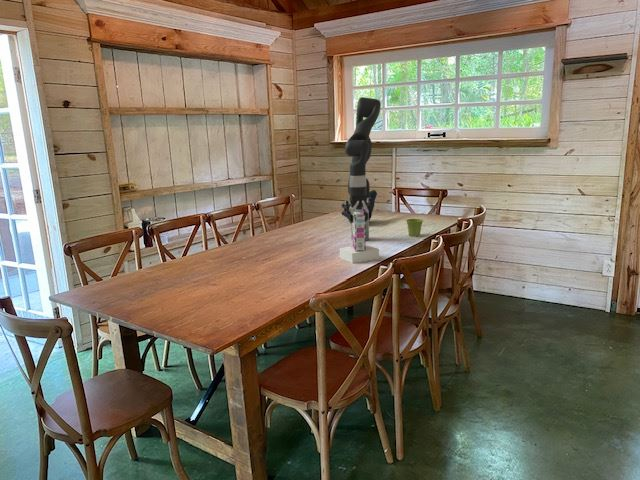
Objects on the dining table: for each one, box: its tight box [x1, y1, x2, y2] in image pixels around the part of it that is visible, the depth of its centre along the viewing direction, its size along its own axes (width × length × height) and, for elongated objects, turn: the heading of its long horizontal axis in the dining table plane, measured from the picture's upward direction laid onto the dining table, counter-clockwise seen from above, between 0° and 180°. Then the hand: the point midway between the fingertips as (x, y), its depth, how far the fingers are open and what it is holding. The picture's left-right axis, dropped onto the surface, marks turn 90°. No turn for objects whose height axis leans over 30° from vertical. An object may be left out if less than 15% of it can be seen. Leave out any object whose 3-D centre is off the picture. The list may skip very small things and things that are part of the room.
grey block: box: [339, 244, 380, 264], centre depth 219 cm, size 12×14×5 cm
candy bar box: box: [352, 212, 367, 251], centre depth 216 cm, size 11×5×16 cm, turn 3°
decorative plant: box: [341, 189, 378, 221], centre depth 303 cm, size 21×26×30 cm
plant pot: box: [405, 218, 424, 237], centre depth 261 cm, size 9×9×9 cm
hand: (358, 221), depth 215 cm, fingers open, 7 cm apart
